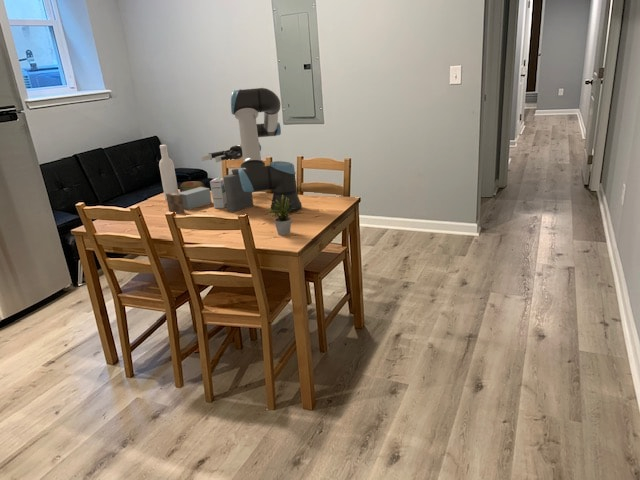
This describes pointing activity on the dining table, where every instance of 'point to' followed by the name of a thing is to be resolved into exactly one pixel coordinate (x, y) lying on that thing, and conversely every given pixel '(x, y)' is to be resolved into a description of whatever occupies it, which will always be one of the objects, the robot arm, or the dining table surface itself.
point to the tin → (190, 185)
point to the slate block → (196, 197)
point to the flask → (236, 193)
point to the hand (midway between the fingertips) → (208, 159)
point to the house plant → (282, 217)
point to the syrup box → (218, 193)
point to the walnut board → (175, 202)
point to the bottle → (167, 172)
